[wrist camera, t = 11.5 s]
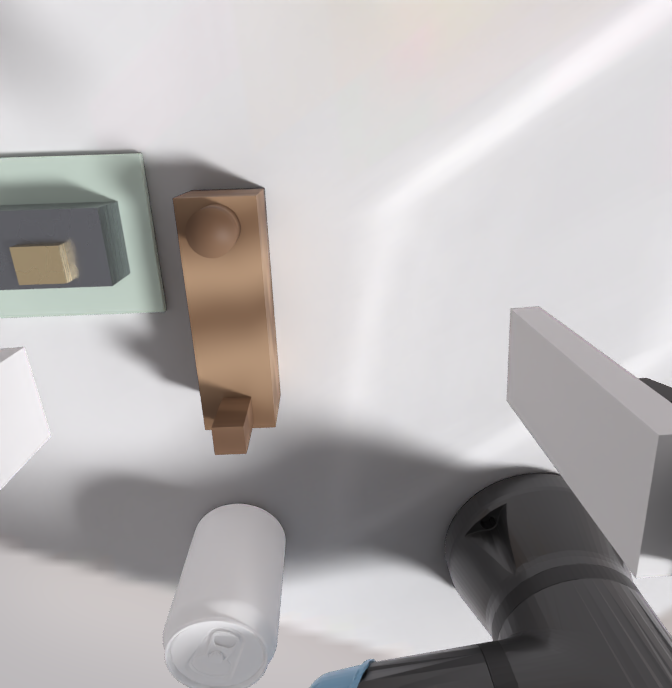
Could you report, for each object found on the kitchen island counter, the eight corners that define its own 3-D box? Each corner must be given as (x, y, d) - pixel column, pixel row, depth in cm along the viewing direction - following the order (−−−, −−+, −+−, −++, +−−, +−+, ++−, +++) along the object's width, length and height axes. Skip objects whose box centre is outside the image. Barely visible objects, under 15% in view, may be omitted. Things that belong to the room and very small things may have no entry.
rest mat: (166, 309, 39) (164, 312, 39) (4, 315, 39) (0, 318, 38) (141, 153, 35) (138, 153, 34) (-39, 158, 35) (-45, 159, 34)
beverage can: (183, 554, 48) (142, 681, 37) (213, 486, 45) (178, 601, 34) (266, 580, 49) (250, 710, 38) (300, 516, 47) (293, 635, 35)
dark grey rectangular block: (130, 273, 37) (107, 289, 33) (17, 277, 37) (-19, 294, 33) (117, 201, 36) (91, 209, 32) (-1, 205, 35) (-42, 213, 31)
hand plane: (280, 395, 42) (270, 459, 34) (218, 397, 42) (192, 462, 34) (264, 187, 36) (247, 203, 28) (191, 190, 36) (152, 206, 28)
